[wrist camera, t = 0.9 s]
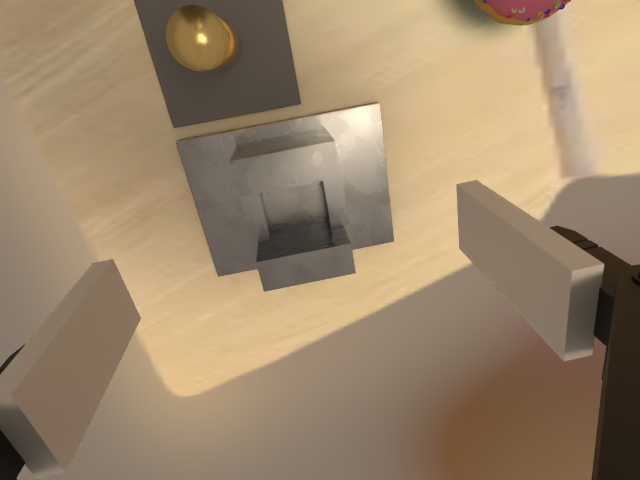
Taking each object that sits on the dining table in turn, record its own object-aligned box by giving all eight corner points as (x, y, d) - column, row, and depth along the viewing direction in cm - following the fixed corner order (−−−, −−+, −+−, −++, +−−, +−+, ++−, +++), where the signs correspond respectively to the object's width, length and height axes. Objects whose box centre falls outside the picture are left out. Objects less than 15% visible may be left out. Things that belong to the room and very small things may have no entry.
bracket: (178, 140, 33) (155, 159, 26) (376, 102, 33) (401, 112, 27) (219, 271, 38) (208, 314, 31) (391, 237, 38) (414, 272, 32)
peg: (193, 26, 29) (157, 10, 20) (235, 18, 29) (218, -1, 20) (205, 71, 30) (176, 75, 21) (245, 63, 31) (233, 65, 21)
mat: (129, -21, 28) (127, -22, 28) (273, -47, 28) (273, -49, 28) (174, 127, 32) (173, 128, 32) (300, 103, 32) (300, 103, 32)
